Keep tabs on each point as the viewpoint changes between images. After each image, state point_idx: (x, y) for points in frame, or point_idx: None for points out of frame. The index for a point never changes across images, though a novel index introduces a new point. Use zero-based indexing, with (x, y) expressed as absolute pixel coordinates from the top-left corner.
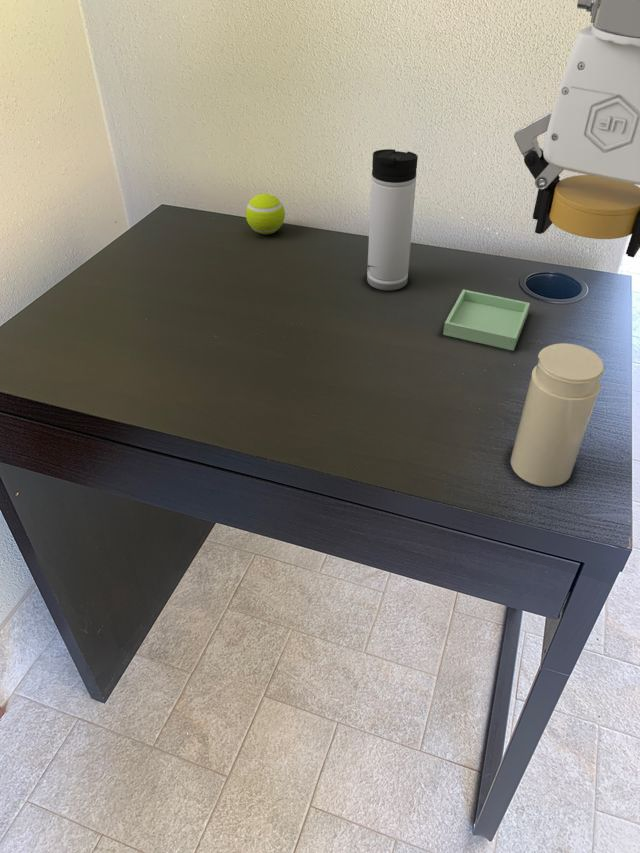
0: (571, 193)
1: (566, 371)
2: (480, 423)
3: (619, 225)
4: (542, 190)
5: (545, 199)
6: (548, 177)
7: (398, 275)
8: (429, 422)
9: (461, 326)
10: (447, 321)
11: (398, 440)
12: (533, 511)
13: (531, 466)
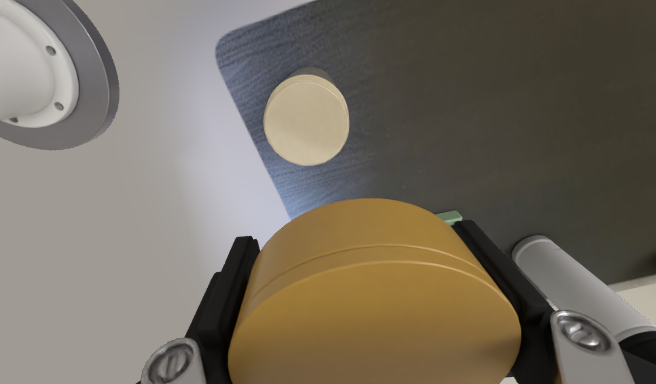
0: (461, 320)
1: (301, 98)
2: (379, 117)
3: (263, 265)
4: (544, 314)
5: (519, 283)
6: (582, 357)
7: (527, 253)
8: (423, 87)
9: (445, 220)
10: (460, 220)
11: (442, 40)
12: (288, 29)
13: (310, 67)
